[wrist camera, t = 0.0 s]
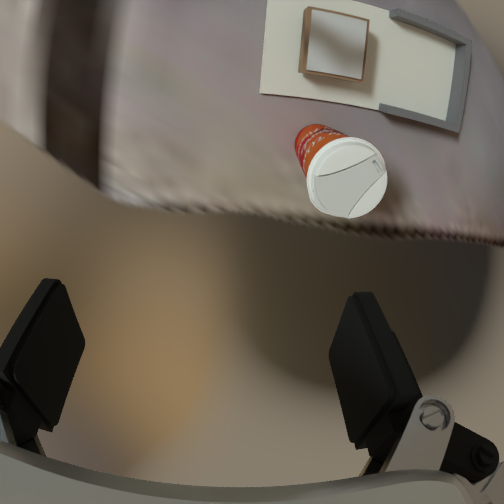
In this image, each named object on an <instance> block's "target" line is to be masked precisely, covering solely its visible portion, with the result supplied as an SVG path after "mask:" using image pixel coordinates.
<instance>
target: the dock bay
mask: <svg viewBox="0 0 504 504" xmlns="http://www.w3.org/2000/svg"><path fill="white" fill-rule="evenodd" d="M308 6H310V7H316V8H322V9H327V10H332V11H336V12H341V13H345V14H350V15H354V16H358V17H362V18H365V19H369V20H370V22H369V34H368V44H367V54H366V63H365V72H364V80H363V83H357V82H352V81H347V80H342V79H336V78H330V77H324V76H318V75H311V74H304V73H298V64H299V55H300V45H301V34H302V23H303V11H304V9H305V8H307V7H308ZM471 49H472V40H470V39H468V38H466V37H464V36H462V35H460V34H458V33H456V32H454V31H452V30H450V29H447V28H445V27H443V26H441V25H439V24H436V23H434V22H432V21H429V20H427V19H424V18H422V17H419V16H417V15H414V14H412V13H409V12H406V11H404V10H401V9H395V10H392V11H387V10H384V9H381V8H378V7H374V6H371V5H367V4H364V3H360V2H356V1H352V0H267V11H266V23H265V35H264V46H263V58H262V70H261V82H260V93H264V94H276V95H286V96H295V97H303V98H311V99H318V100H325V101H331V102H338V103H344V104H349V105H355V106H360V107H365V108H370V109H375V110H379V111H382V112H384V113H388V114H392V115H396V116H400V117H404V118H408V119H412V120H416V121H420V122H423V123H427V124H431V125H434V126H437V127H441V128H444V129H447V130H451V131H454V132H457V133H459V132H460V127H461V122H462V116H463V111H464V105H465V99H466V92H467V85H468V78H469V70H470V60H471Z"/></svg>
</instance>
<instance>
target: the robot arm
mask: <svg viewBox="0 0 504 504" xmlns="http://www.w3.org/2000/svg"><path fill="white" fill-rule="evenodd" d="M84 348H85V339H84V336H83V333H82V331H81V328H80V326H79V323H78V321H77V318H76V316H75V313H74V310H73V308H72V304H71V302H70V299H69V296H68V293H67V290H66V287H65V285H63V284H62V283H61V281H60V280H58V279H48V278H45V279H43V280H42V281H41V283H40V284H39V285H38V287H37V289H36V290H35V292H34V293H33V294H32V296H31V298H30V299H29V301H28V302H27V304H26V305H25V307H24V308H23V310H22V312H21V313H20V315H19V316H18V318H17V320H16V321H15V323H14V325H13V326H12V328H11V330H10V332H9V333H8V335H7V337H6V339H5V340H4V342H3V344H2V346H1V347H0V504H504V462H501V463H499V453H498V450H497V448H496V446H495V445H494V444H493V443H492V442H491V441H490V440H488V439H486V438H484V437H482V436H480V435H478V434H476V433H475V432H473V431H471V430H469V429H467V428H465V427H463V426H461V425H460V424H458V423H456V422H454V420H455V416H454V411H453V409H452V407H451V405H450V404H449V403H448V402H447V401H446V400H444V399H443V398H441V397H438V396H435V395H428V396H424V397H423V396H422V393H421V391H420V389H419V387H418V384H417V382H416V379H415V377H414V375H413V372H412V370H411V368H410V365H409V363H408V361H407V359H406V357H405V354H404V352H403V350H402V348H401V346H400V343H399V341H398V339H397V337H396V335H395V333H394V332H393V331H392V330H391V329H390V327H389V325H388V323H387V320H386V318H385V316H384V314H383V312H382V310H381V308H380V306H379V304H378V302H377V300H376V298H375V296H374V294H373V293H372V292H355V293H354V294H353V296H350V297H348V299H347V302H346V305H345V308H344V311H343V314H342V316H341V319H340V322H339V325H338V328H337V331H336V333H335V336H334V339H333V342H332V345H331V347H330V350H329V361H330V365H331V368H332V372H333V376H334V380H335V384H336V388H337V392H338V395H339V400H340V404H341V408H342V412H343V416H344V420H345V424H346V429H347V432H348V437H349V440H350V442H352V443H354V444H355V448H356V450H358V449H363V448H368V452H369V455H370V458H369V460H368V461H367V463H366V465H365V466H364V468H363V470H362V472H361V473H360V475H359V477H354V478H348V479H342V480H334V481H327V482H318V483H309V484H299V485H289V486H272V487H208V486H207V487H206V486H192V485H180V484H170V483H162V482H154V481H147V480H140V479H134V478H128V477H123V476H118V475H113V474H108V473H104V472H99V471H94V470H91V469H87V468H83V467H79V466H75V465H72V464H68V463H65V462H62V461H58V460H55V459H52V458H49V457H46V455H45V452H44V450H43V447H42V445H41V443H40V440H39V438H38V435H37V432H38V429H39V428H40V429H43V430H46V431H49V432H52V431H53V427H54V426H56V425H57V424H58V422H59V419H60V415H61V412H62V409H63V406H64V403H65V400H66V397H67V394H68V391H69V388H70V386H71V383H72V380H73V377H74V374H75V372H76V369H77V366H78V363H79V361H80V358H81V356H82V353H83V350H84Z"/></svg>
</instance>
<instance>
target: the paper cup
mask: <svg viewBox="0 0 504 504" xmlns="http://www.w3.org/2000/svg"><path fill="white" fill-rule="evenodd" d="M295 151H296V155H297V157H298V160H299V162H300V165H301V167H302V169H303V172H304V174H305V176H306V179H307V188H308V192H309V197H310V200H311V202H312V203H313V204H314V206H315V207H316V208H317V209H319V210H320V211H321V212H323V213H327V214H330V215H333V216H337V217H345V218H355V217H359V216H362V215H364V214H366V213H368V212H369V211H371V210H372V209H373V208H375V207H376V206H377V204H378V203H379V202H380V201H381V199H382V197H383V195H384V193H385V190H386V186H387V171H386V165H385V162H384V159H383V157H382V155H381V154H380V152H379V151H378V150H377V149H376V148H375V147H374V146H373V145H372V144H370V143H369V142H367V141H365V140H363V139H359V138H354V137H349V136H347V135H345V134H343V133H341V132H339V131H337V130H334V129H332V128H330V127H327V126H324V125H320V124H313V125H309V126H307V127H305V128H303V129H302V130H301V131H300V132H299V133H298V135H297V137H296V140H295Z"/></svg>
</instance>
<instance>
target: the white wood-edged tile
mask: <svg viewBox="0 0 504 504" xmlns="http://www.w3.org/2000/svg"><path fill="white" fill-rule="evenodd" d="M369 22H370V20H369V19H365V18H362V17H358V16H354V15H350V14H345V13H341V12H336V11H332V10H327V9H322V8H316V7H310V6H308V7H307V8H305V9H304V11H303V23H302V34H301V45H300V55H299V64H298V73H304V74H311V75H318V76H324V77H330V78H336V79H342V80H347V81H352V82H357V83H363V80H364V72H365V63H366V54H367V44H368V34H369Z"/></svg>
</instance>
